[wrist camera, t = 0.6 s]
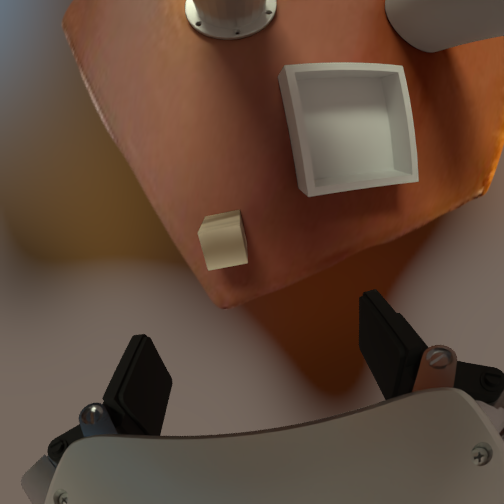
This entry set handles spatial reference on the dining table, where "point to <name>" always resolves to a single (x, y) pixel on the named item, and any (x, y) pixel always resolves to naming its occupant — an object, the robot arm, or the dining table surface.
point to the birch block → (223, 240)
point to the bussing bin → (349, 126)
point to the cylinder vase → (445, 21)
